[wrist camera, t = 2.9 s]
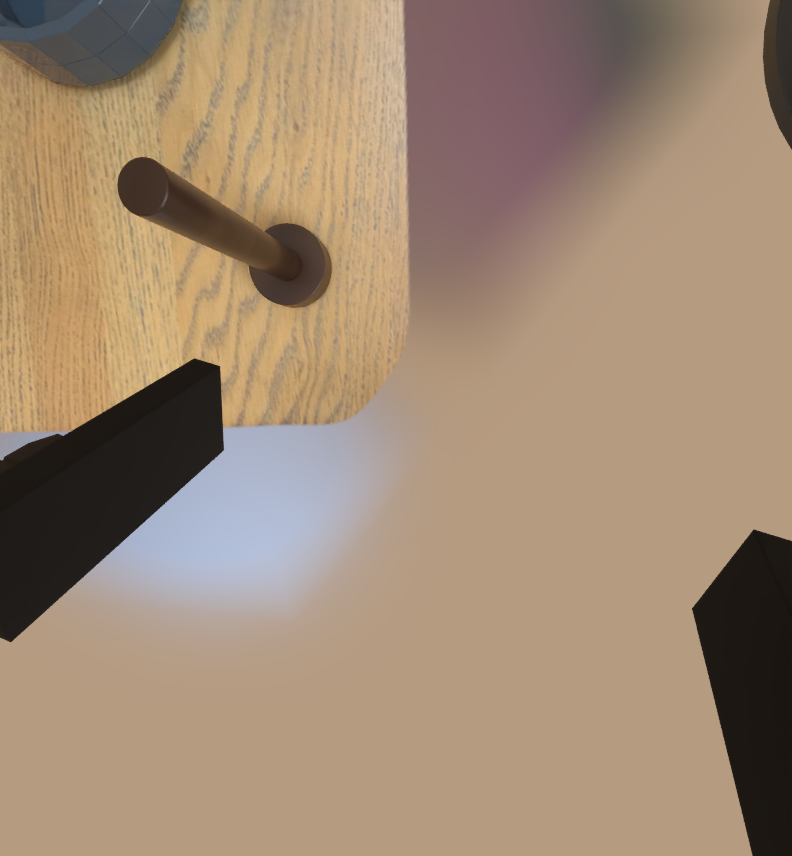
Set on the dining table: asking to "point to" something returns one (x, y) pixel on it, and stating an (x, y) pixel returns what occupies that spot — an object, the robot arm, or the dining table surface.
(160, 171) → the upright rod on disc
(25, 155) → the dining table surface
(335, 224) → the dining table surface
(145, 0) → the bowl
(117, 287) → the dining table surface
